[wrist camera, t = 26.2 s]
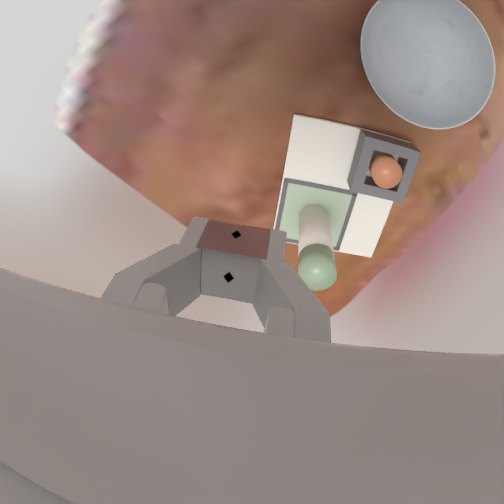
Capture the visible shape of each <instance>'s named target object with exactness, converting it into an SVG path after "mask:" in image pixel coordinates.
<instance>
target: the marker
mask: <svg viewBox="0 0 504 504" xmlns="http://www.w3.org/2000/svg"><path fill="white" fill-rule="evenodd" d="M298 275H299V276H300V277H301V279H302V280H303V281H304V282H305V284H306V285H307V286H308V287H309V289H310V290H324V289H327V288H329V287H330V286H331V285H333V283H334V282H335V280H336V278H337V272H336V264H335V256H334V249H333V242H332V235H331V228H330V221H329V215H328V212H327V210H326V209H325V208H324V207H323V206H321V205H319V204H309V205H306V206H305V207H303V208H302V209H301V211H300V213H299V254H298Z"/></svg>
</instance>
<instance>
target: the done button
mask: <svg viewBox="0 0 504 504" xmlns="http://www.w3.org/2000/svg"><path fill="white" fill-rule="evenodd" d="M368 170H369V172H370V174H371V176H372V178H373V180H374V182H375V183H376V184H377V185H378V186H379V187H381V188H385V189H389V188H393V187H395V186H396V185H397V184H398V183H399V182H400V181H401V178H402V169H401V167H400V165H399V164H398V162H397V161H396V160H395V158H394V157H393V156H392V155H391V154H388V153H384V152H380V151H376V150H375V151H373V154H372V157H371V161H370V164H369V168H368Z"/></svg>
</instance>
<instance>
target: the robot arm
mask: <svg viewBox="0 0 504 504" xmlns="http://www.w3.org/2000/svg"><path fill="white" fill-rule="evenodd" d="M286 237H287V232H286V231H281V230H273V229H271V230H270V229H265V228H259V227H252V226H245V225H240V224H236V223H230V222H225V221H219V220H214V219H209V218H202V217H196V216H195V217H193V218H192V220H191V222H190V224H189V226H188V228H187V229H186V231H185V233H184V235H183V237H182V239H181V241H180V243H179V245H178V244H173V245H171V246H169V247H167V248H165V249H163V250H161V251H159V252H157V253H155V254H153V255H152V256H149V257H147V258H146V259H144V260H141V261H139V262H137V263H135V264H134V265H132V266H130V267H128V268H126V269H124V270H122V271H120V272H118V273H116V274H115V276H114V277H113V279H112V280H111V282H110V284H109V285H108V287H107V289H106V290H105V292H104V294H103V295H102V297H101V298H97V297H93V296H90V295H86V294H83V293H79V292H75V291H72V290H68V289H65V288H62V287H58V286H55V285H52V284H48V283H45V282H42V281H38V280H35V279H32V278H29V277H26V276H23V275H20V274H17V273H14V272H11V271H8V270H5V269H2V268H0V504H504V354H470V353H444V352H426V351H411V350H410V351H409V350H398V349H386V348H375V347H374V348H373V347H363V346H354V345H345V344H337V343H331V331H330V313H329V312H328V311H327V310H326V308H325V307H324V306H323V305H322V303H321V302H320V301H319V300H318V298H317V297H316V296H315V295H314V293H313V292H312V291H311V290H310V289H309V287H308V286H307V285H306V284H305V282H304V281H303V280H302V279H301V277H300V276H299V275H298V274H297V273H296V271H295V270H294V269H293V268H292V266H291V265H290V264H288V263H285V253H286ZM200 294H203V295H209V296H215V297H221V298H228V299H232V300H237V301H242V302H247V303H252V304H253V306H254V308H255V310H256V312H257V314H258V316H259V318H260V320H261V322H262V324H263V326H264V328H265V329H264V333H260V332H254V331H248V330H243V329H237V328H232V327H226V326H221V325H215V324H210V323H205V322H200V321H195V320H190V319H185V318H181V317H176V315H177V314H178V313H179V312H181V311H182V310H183V309H184V308H186V307H187V306H188V305H189V304H191V303H192V302H193V301H194V300H195V299H197V298H198V297H199V296H200Z"/></svg>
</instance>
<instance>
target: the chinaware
mask: <svg viewBox="0 0 504 504" xmlns="http://www.w3.org/2000/svg"><path fill="white" fill-rule="evenodd" d="M360 52H361V59H362V64H363V67H364V70H365V73H366V76H367V78H368V80H369V82H370V84H371V86H372V88H373V89H374V91H375V92H376V94H377V95H378V97H379V98H380V99H381V100H382V101H383V103H384V104H385V105H386V106H387V107H388V108H389V109H390V110H392V111H393V112H394V113H395V114H397V115H398V116H399V117H401V118H402V119H404V120H406V121H408V122H410V123H412V124H414V125H417V126H420V127H423V128H428V129H439V130H440V129H450V128H454V127H458V126H460V125H463V124H465V123H466V122H468V121H470V120H471V119H473V118H474V117H475V116H476V115H477V114H478V113H479V112H480V111H481V110H482V109H483V107H484V106H485V105H486V103H487V101H488V99H489V97H490V95H491V92H492V90H493V86H494V81H495V57H494V52H493V48H492V45H491V42H490V39H489V37H488V35H487V33H486V31H485V29H484V27H483V25H482V24H481V22H480V21H479V20H478V18H477V17H476V16H475V15H474V13H473V12H472V11H471V10H470V9H469V8H468V7H467V6H466V5H464V4H463V3H462V2H461V1H459V0H378V1H377V2H376V3H375V4H374V5H373V6H372V8H371V9H370V11H369V12H368V14H367V16H366V18H365V21H364V23H363V27H362V31H361V37H360Z"/></svg>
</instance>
